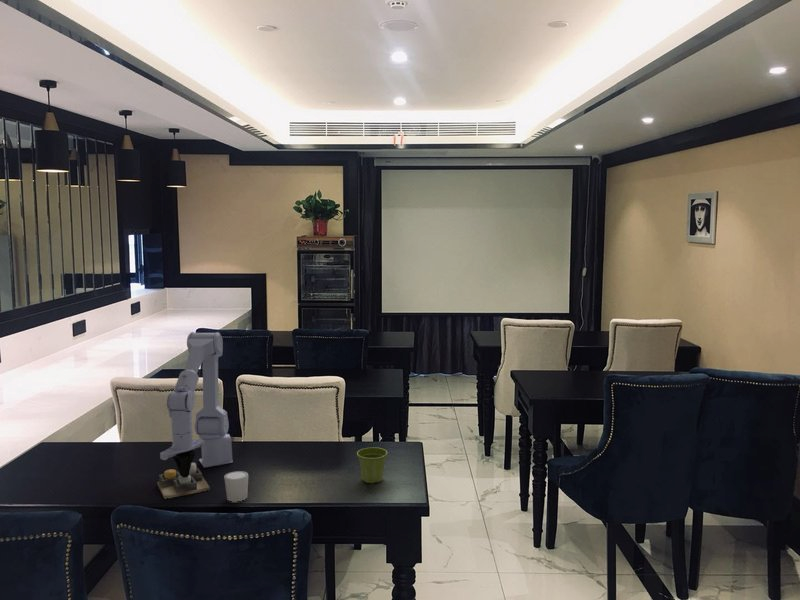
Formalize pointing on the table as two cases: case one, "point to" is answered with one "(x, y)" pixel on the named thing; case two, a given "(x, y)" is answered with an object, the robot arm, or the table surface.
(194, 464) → the white small cylinder
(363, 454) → the plant pot
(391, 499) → the table surface
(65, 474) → the table surface
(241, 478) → the white cup
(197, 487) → the button panel board
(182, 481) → the sage button
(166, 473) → the amber button
